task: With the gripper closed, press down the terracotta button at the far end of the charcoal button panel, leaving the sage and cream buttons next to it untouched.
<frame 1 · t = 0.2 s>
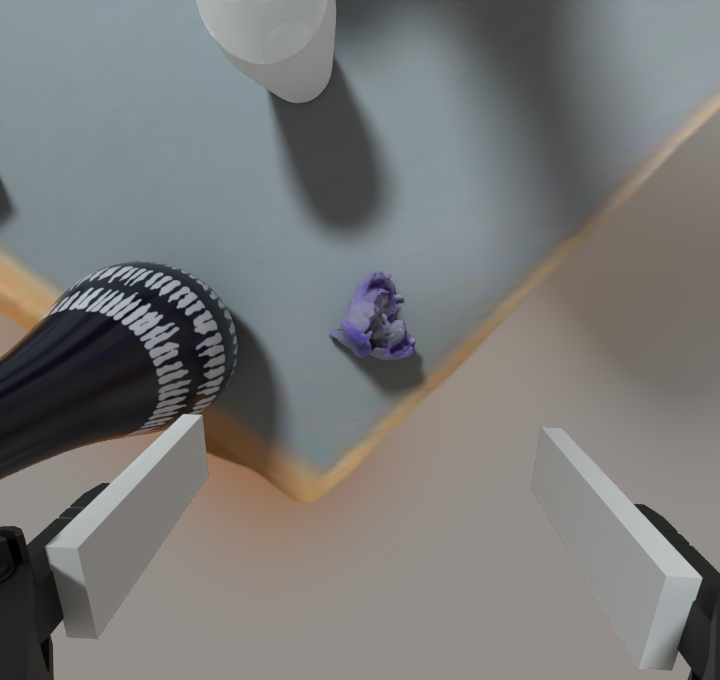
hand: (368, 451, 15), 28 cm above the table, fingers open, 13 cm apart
cup: (297, 64, 36), on the table
flower: (370, 319, 43), on the table
vase: (185, 328, 44), on the table
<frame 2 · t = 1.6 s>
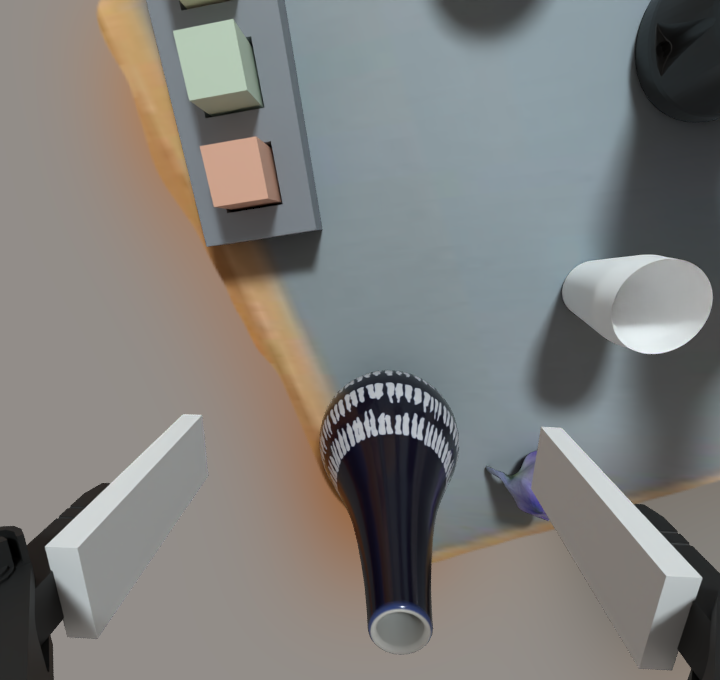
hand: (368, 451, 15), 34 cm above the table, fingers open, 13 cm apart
button sage: (224, 75, 36), point 6 cm above the table, slide at 0.0 cm
cup: (589, 288, 46), on the table
flower: (519, 468, 53), on the table
button terracotta: (245, 177, 39), point 6 cm above the table, slide at 0.0 cm
panel: (244, 95, 42), on the table
vase: (386, 411, 52), on the table
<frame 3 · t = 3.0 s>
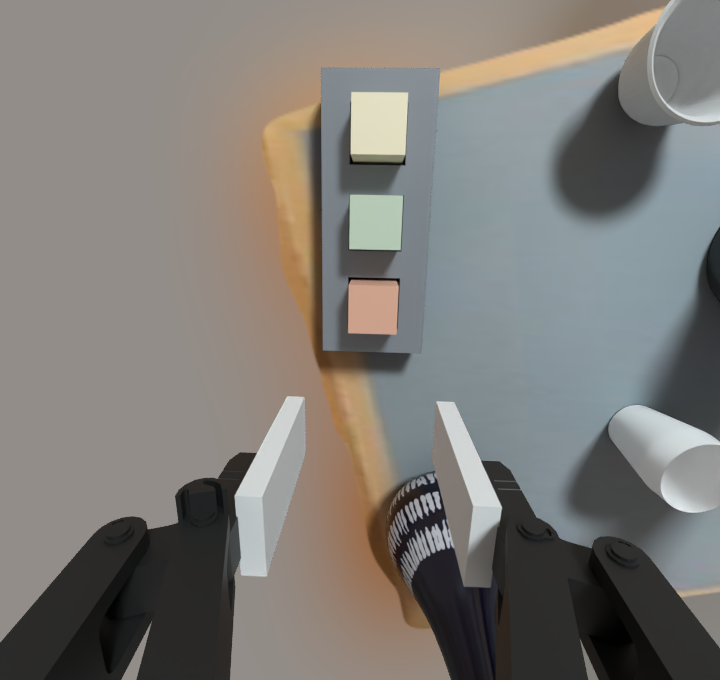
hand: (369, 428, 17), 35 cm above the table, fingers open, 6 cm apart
button sage: (375, 223, 42), point 6 cm above the table, slide at 0.0 cm
cup: (631, 425, 54), on the table
button terracotta: (373, 304, 45), point 6 cm above the table, slide at 0.0 cm
panel: (375, 224, 48), on the table
teacup: (650, 75, 43), on the table
vase: (437, 496, 59), on the table
button cream: (378, 132, 40), point 6 cm above the table, slide at 0.0 cm
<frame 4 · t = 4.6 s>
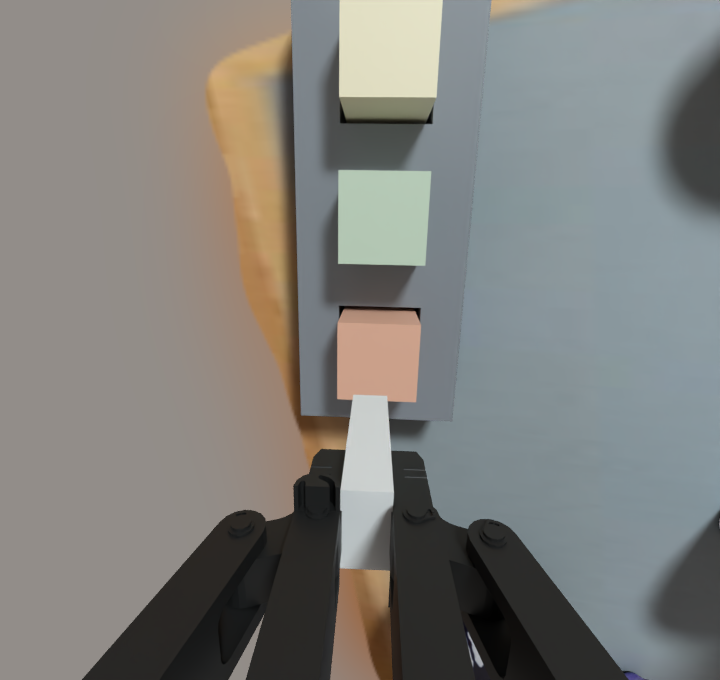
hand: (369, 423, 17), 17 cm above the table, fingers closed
button sage: (382, 220, 26), point 6 cm above the table, slide at 0.0 cm
button terracotta: (378, 348, 28), point 6 cm above the table, slide at 0.0 cm
panel: (382, 222, 32), on the table
vase: (466, 602, 42), on the table
button cream: (388, 65, 24), point 6 cm above the table, slide at 0.0 cm
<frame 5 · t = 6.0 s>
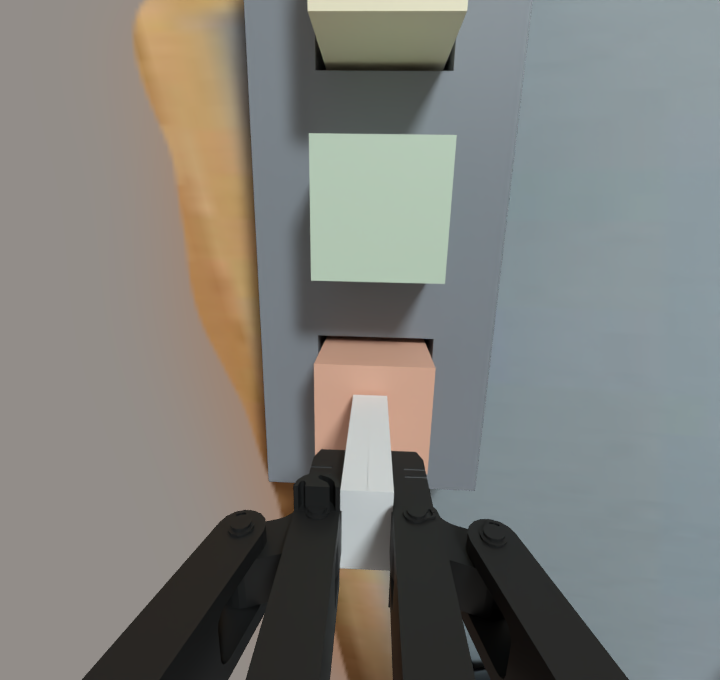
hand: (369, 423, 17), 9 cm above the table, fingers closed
button sage: (379, 215, 18), point 6 cm above the table, slide at 0.0 cm
button terracotta: (373, 392, 21), point 5 cm above the table, slide at 0.5 cm, touching gripper
panel: (379, 218, 23), on the table
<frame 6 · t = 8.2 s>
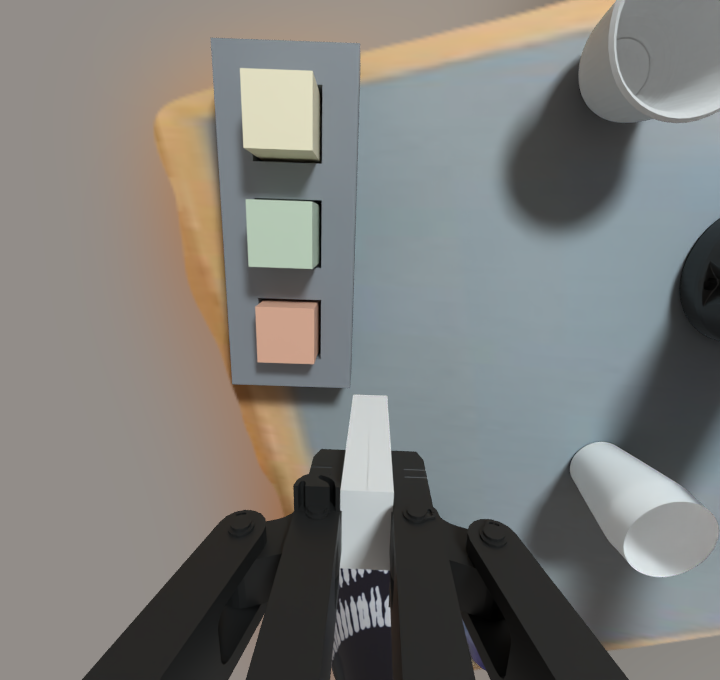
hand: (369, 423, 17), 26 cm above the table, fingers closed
button sage: (287, 234, 35), point 6 cm above the table, slide at 0.0 cm
cup: (595, 463, 48), on the table
button terracotta: (291, 327, 39), point 4 cm above the table, slide at 1.6 cm
panel: (297, 233, 40), on the table
teacup: (617, 61, 36), on the table
vase: (380, 542, 51), on the table
button cream: (285, 121, 32), point 6 cm above the table, slide at 0.0 cm
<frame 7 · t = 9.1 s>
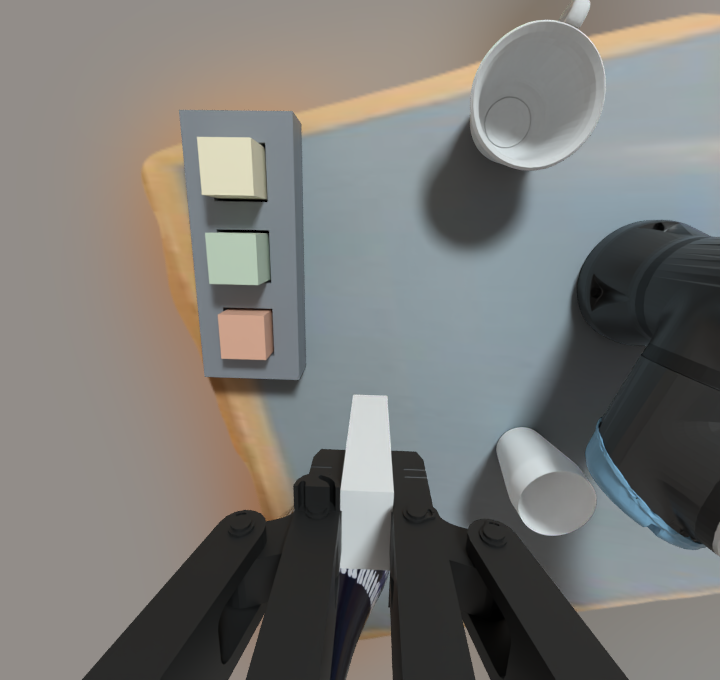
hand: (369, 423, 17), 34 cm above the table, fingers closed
button sage: (242, 257, 44), point 6 cm above the table, slide at 0.0 cm
cup: (518, 446, 56), on the table
button terracotta: (250, 330, 48), point 4 cm above the table, slide at 1.6 cm
panel: (257, 254, 49), on the table
teacup: (508, 113, 44), on the table
vase: (338, 514, 60), on the table
button cream: (237, 171, 42), point 6 cm above the table, slide at 0.0 cm
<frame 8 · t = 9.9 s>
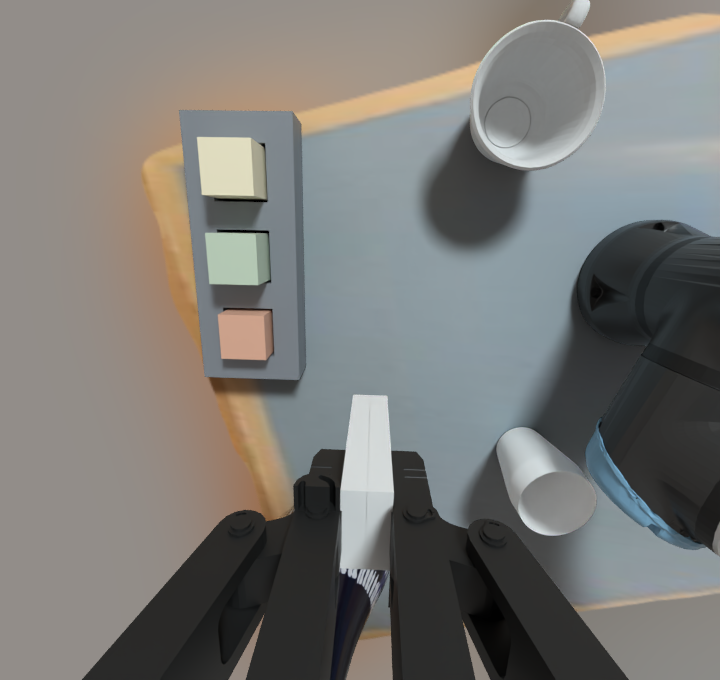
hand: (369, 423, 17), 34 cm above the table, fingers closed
button sage: (242, 257, 44), point 6 cm above the table, slide at 0.0 cm
cup: (518, 446, 56), on the table
button terracotta: (250, 330, 48), point 4 cm above the table, slide at 1.6 cm
panel: (257, 254, 50), on the table
teacup: (508, 113, 44), on the table
vase: (338, 514, 60), on the table
button cream: (237, 171, 42), point 6 cm above the table, slide at 0.0 cm
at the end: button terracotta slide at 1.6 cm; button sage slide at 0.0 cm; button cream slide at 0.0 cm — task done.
